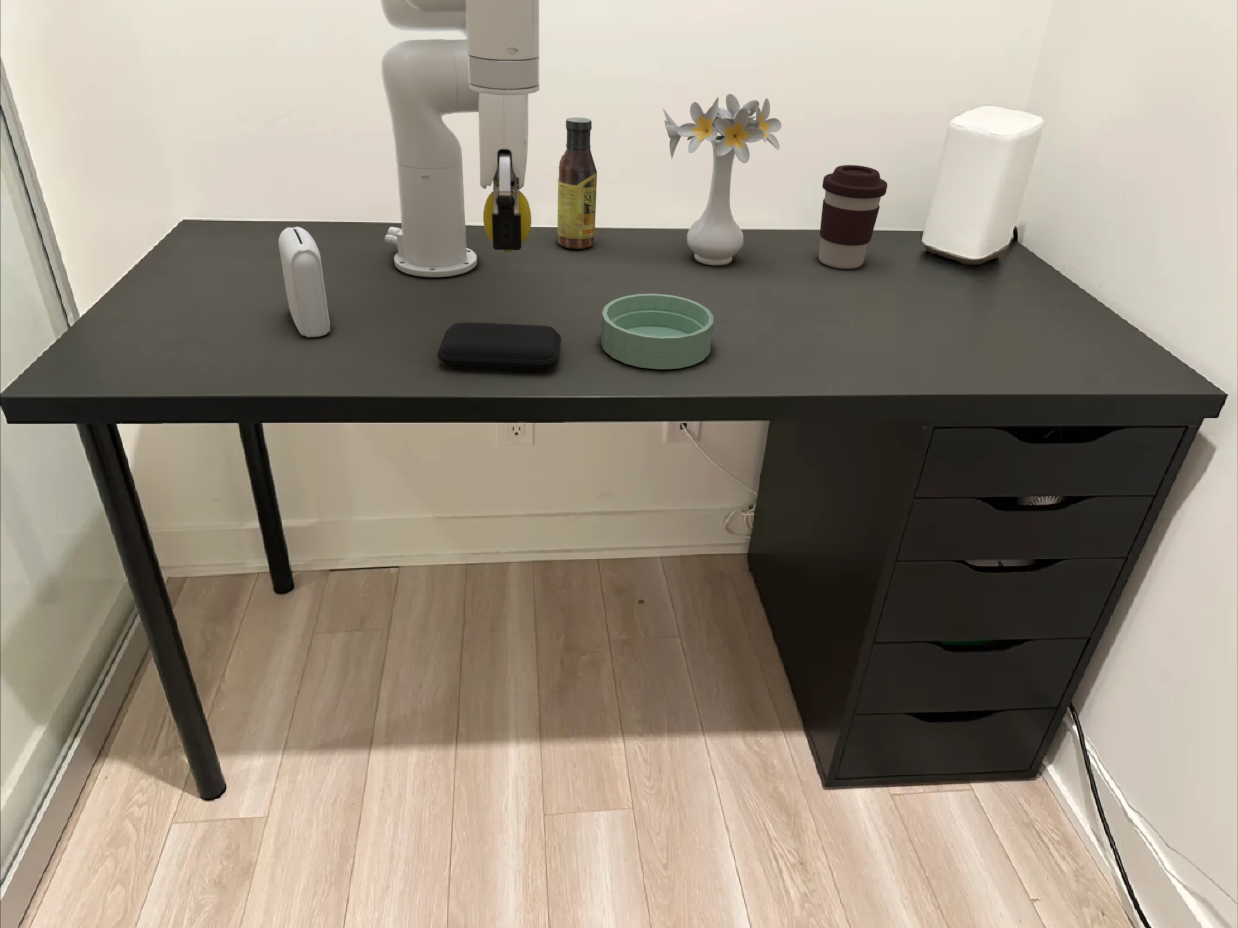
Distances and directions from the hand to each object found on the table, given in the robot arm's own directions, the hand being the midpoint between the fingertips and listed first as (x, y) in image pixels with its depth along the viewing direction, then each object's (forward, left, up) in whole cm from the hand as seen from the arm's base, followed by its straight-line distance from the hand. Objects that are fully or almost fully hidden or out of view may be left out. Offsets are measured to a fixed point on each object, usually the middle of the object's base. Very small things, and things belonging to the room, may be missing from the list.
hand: (507, 238), depth 104 cm
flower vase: (+9, +47, -15) cm, 50 cm away
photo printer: (-28, -5, -15) cm, 32 cm away
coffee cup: (+28, +58, -15) cm, 66 cm away
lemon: (0, 0, -2) cm, 2 cm away
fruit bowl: (+15, +12, -15) cm, 24 cm away
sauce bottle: (-13, +42, -15) cm, 46 cm away
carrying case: (-1, -1, -15) cm, 15 cm away
